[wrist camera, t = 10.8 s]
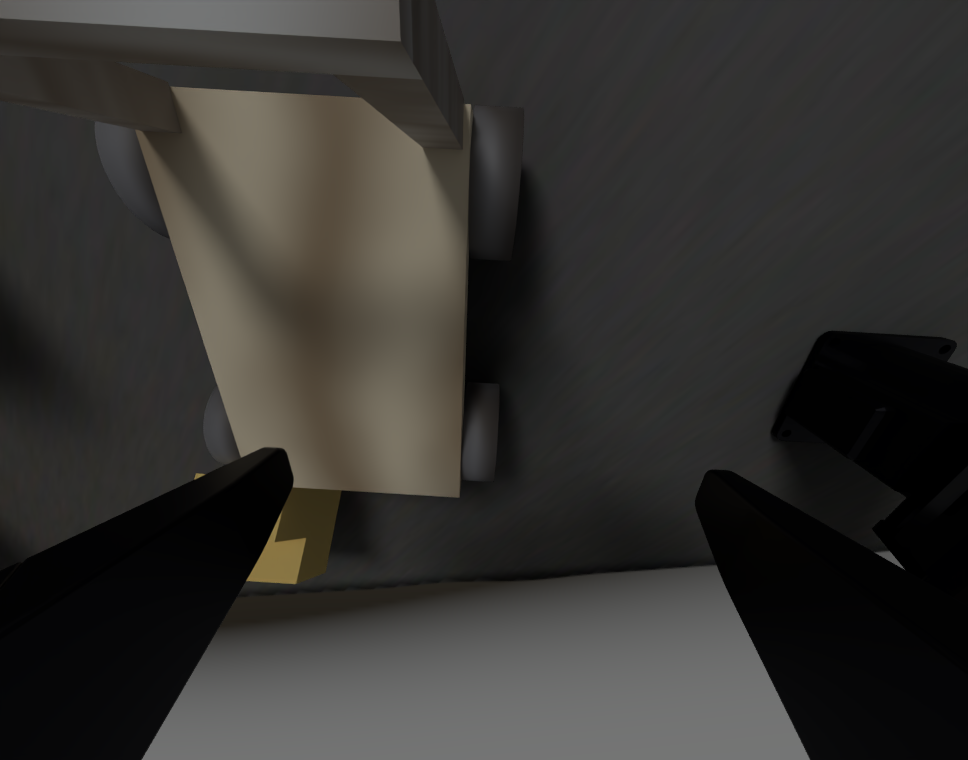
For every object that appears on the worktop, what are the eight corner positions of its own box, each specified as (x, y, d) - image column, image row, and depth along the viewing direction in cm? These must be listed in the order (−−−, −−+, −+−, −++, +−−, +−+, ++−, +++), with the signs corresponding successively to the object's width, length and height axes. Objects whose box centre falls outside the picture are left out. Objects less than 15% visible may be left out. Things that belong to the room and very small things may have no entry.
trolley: (518, 124, 14) (608, -205, 3) (493, 442, 21) (490, 711, 10) (198, 105, 14) (-974, -292, 3) (279, 429, 21) (31, 683, 10)
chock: (290, 479, 17) (260, 597, 15) (341, 488, 24) (325, 572, 22) (196, 473, 17) (155, 591, 15) (274, 484, 24) (252, 567, 22)
